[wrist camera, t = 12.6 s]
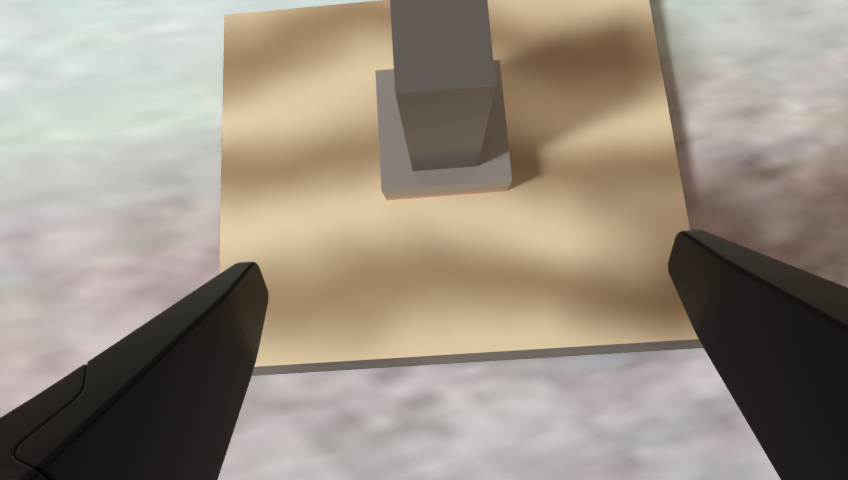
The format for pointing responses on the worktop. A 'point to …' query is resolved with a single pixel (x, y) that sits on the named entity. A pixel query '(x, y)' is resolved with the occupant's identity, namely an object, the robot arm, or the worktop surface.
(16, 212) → the worktop surface
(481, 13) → the grey stepped block
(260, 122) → the birch board
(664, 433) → the worktop surface
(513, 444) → the worktop surface
